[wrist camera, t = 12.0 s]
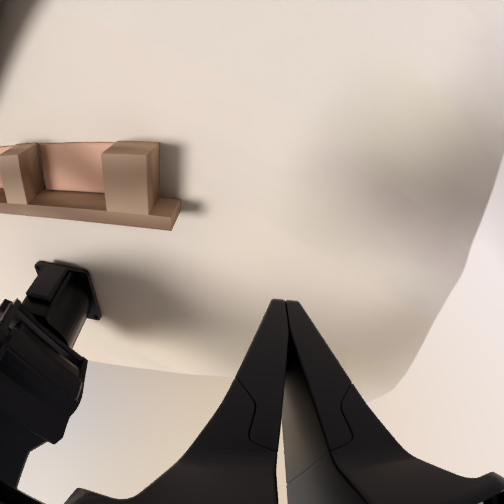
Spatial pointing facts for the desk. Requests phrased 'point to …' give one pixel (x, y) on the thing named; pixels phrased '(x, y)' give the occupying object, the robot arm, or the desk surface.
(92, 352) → the desk surface
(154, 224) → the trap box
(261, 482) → the robot arm
